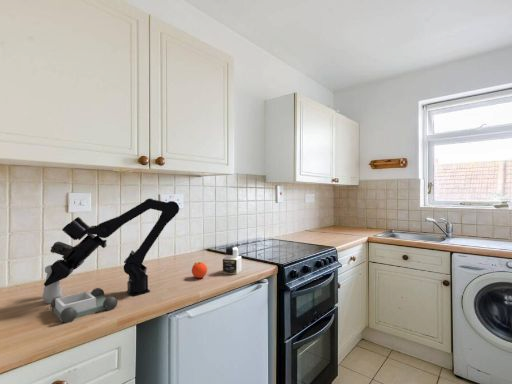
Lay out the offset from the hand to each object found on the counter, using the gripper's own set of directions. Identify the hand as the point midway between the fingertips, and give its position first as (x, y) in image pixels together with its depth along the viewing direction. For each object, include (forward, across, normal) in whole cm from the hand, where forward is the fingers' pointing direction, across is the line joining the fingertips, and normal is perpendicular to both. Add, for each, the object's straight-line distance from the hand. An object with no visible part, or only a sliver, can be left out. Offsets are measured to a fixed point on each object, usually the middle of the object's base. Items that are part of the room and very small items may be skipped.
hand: (50, 281), depth 102 cm
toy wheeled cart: (-5, +12, +15) cm, 19 cm away
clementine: (-33, -11, +43) cm, 56 cm away
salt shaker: (+5, 0, +6) cm, 8 cm away
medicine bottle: (-45, -15, +55) cm, 72 cm away
